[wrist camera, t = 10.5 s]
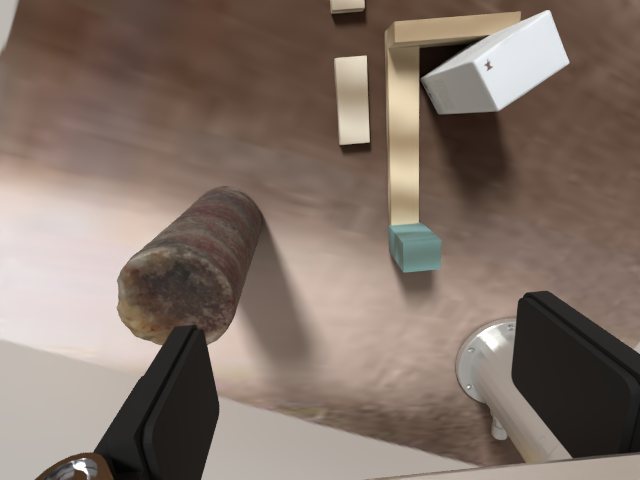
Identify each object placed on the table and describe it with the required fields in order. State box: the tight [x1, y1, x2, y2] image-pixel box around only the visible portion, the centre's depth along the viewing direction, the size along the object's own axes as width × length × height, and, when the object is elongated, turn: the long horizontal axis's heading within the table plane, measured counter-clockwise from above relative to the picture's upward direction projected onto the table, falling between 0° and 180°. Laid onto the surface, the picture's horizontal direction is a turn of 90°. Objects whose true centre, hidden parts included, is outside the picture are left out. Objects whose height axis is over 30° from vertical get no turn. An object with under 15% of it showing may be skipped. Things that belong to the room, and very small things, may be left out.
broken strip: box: [330, 0, 370, 145], centre depth 34 cm, size 22×3×1 cm, turn 5°
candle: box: [117, 186, 262, 345], centre depth 31 cm, size 8×7×20 cm
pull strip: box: [385, 12, 521, 273], centre depth 35 cm, size 22×11×7 cm, turn 5°
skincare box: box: [420, 10, 569, 114], centre depth 31 cm, size 6×4×12 cm
